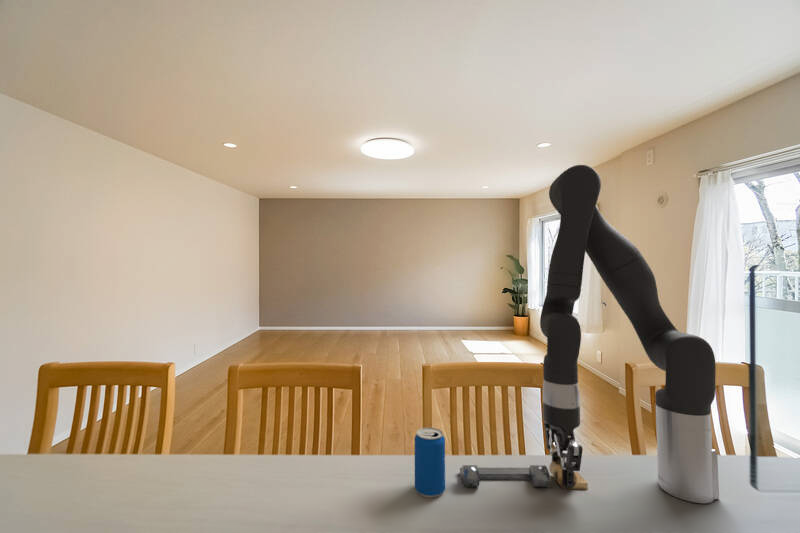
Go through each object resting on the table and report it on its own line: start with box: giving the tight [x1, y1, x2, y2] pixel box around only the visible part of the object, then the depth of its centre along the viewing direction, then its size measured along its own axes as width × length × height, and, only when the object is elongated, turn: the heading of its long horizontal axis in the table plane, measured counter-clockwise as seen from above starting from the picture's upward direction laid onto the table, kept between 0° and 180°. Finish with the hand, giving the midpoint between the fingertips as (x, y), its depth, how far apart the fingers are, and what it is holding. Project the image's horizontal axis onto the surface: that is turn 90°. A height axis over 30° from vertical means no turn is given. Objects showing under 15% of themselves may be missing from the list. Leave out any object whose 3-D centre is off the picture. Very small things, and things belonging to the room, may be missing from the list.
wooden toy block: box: [548, 459, 589, 490], centre depth 78 cm, size 4×6×4 cm
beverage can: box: [414, 427, 446, 499], centre depth 75 cm, size 6×6×12 cm
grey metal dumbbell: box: [459, 464, 551, 488], centre depth 78 cm, size 18×7×4 cm, turn 90°
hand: (562, 479), depth 78 cm, fingers closed on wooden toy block, 4 cm apart
